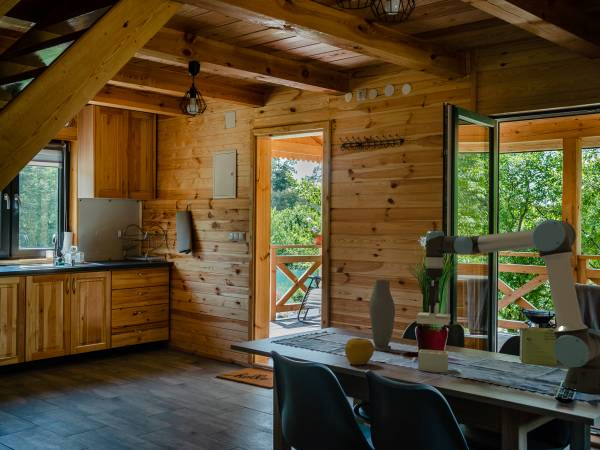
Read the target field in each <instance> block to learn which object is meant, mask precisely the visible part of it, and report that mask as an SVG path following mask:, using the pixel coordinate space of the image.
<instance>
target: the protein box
mask: <svg viewBox="0 0 600 450" xmlns="http://www.w3.org/2000/svg"><path fill="white" fill-rule="evenodd" d="M555 329H556V328H551V327H548V328H546V327H524V326H520V327H519V361H520V360H521V361H520V362H521V363H522V364H527V363H531V364H530V365H542V364H549V365H548V366H558V360H557V358H556V357H555V355H554V351H553V346H554V343H555V341H556V340H555V334H554V330H555Z"/></svg>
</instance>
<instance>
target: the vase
mask: <svg viewBox="0 0 600 450" xmlns="http://www.w3.org/2000/svg"><path fill="white" fill-rule="evenodd" d="M390 283H391V282H390V280H389V279H375V281H374V286H373V289H372V292H371V296H370V298H369V304H368V306H369V308H368V310H369V317H370V324H371V325H370V327H371V332H372V333H371V335H372V341H373V346H374V351H376V350H377V352H389V350H390V351H392V346H391V345H390V341H391V339H392V336H393V332H394V327H395V326H394V325H395V318H396V317H395V315H396V310H395V309H396V308H395V307H396V306H395V301H394V298H393V297H392V294H391V287H390Z"/></svg>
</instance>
